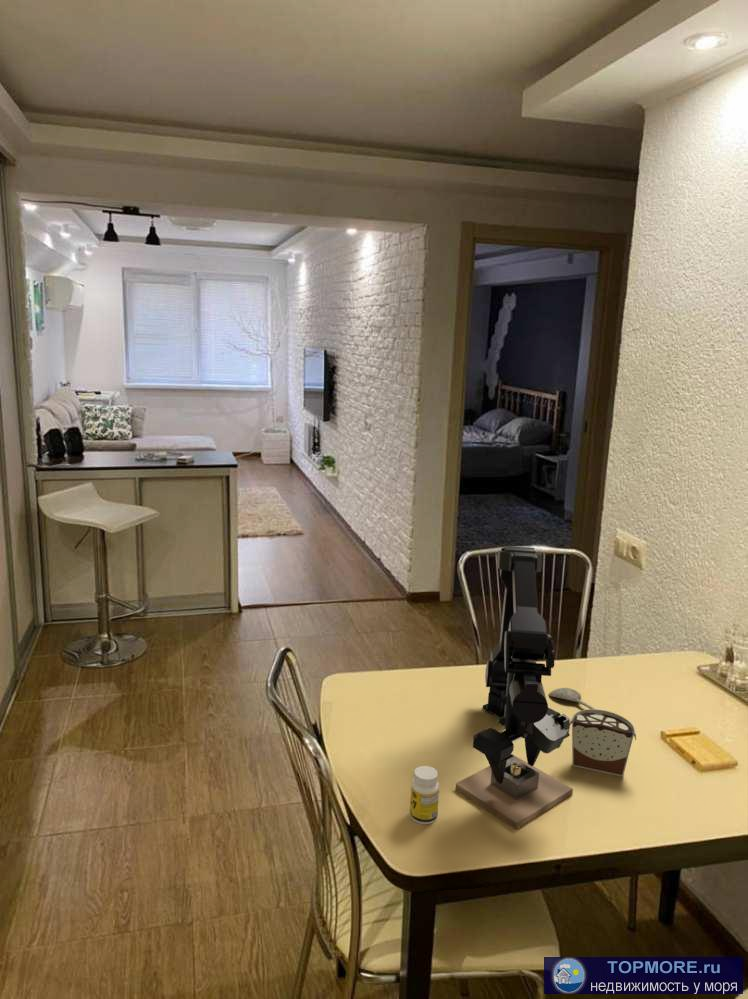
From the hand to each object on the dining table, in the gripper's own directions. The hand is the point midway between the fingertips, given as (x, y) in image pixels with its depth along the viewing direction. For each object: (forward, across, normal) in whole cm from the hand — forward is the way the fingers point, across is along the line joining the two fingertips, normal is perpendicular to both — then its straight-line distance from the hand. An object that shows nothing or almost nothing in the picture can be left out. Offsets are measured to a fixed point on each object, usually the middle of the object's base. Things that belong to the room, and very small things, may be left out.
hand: (515, 773), depth 131 cm
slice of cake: (+4, +21, -4) cm, 22 cm away
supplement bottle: (+4, -18, +5) cm, 19 cm away
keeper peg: (+2, 0, 0) cm, 2 cm away
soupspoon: (+4, +37, +9) cm, 38 cm away
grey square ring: (+2, 0, 0) cm, 2 cm away
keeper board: (+4, 0, 0) cm, 4 cm away
